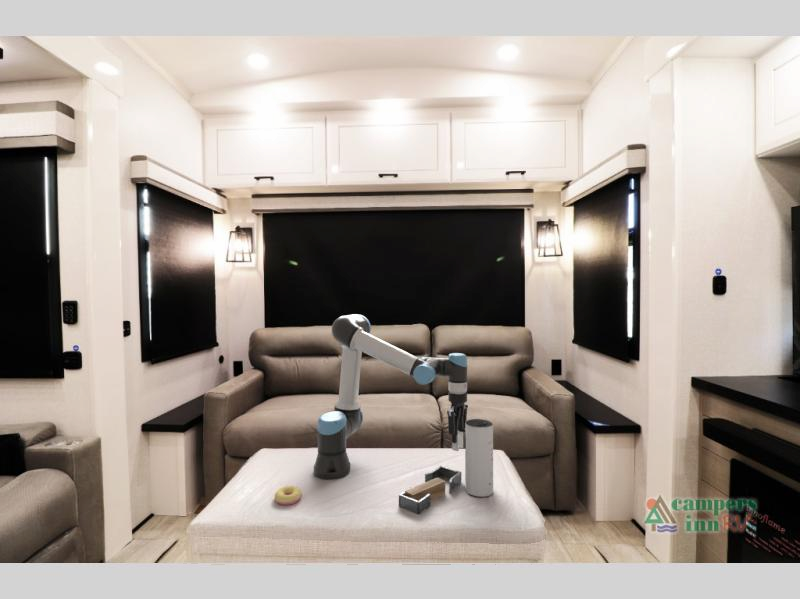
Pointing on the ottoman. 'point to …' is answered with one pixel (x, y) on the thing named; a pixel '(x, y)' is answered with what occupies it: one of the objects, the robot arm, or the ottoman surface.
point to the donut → (288, 495)
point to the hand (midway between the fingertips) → (457, 448)
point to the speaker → (479, 457)
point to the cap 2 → (445, 476)
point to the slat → (427, 489)
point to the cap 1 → (414, 503)
